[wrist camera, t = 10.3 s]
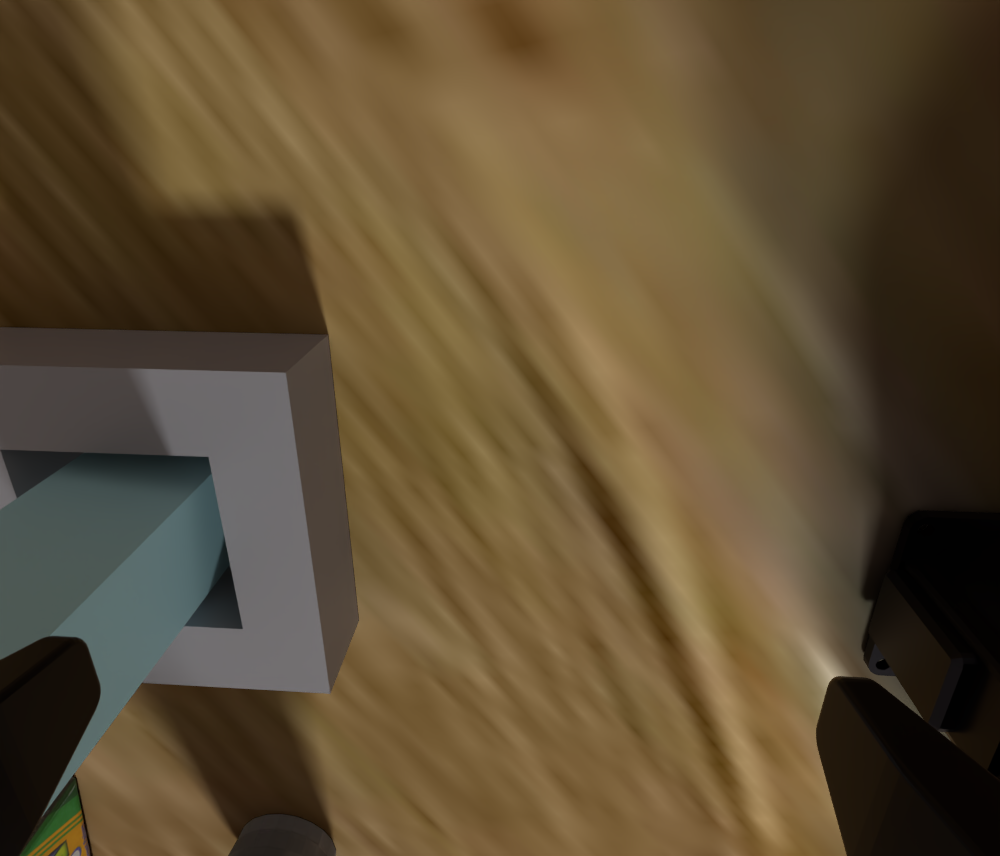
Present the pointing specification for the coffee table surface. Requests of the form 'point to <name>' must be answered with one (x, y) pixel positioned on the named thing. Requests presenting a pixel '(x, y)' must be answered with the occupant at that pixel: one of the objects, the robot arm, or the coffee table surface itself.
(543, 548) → the coffee table surface
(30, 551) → the peg
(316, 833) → the beverage cup
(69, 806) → the chalk box
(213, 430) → the socket
